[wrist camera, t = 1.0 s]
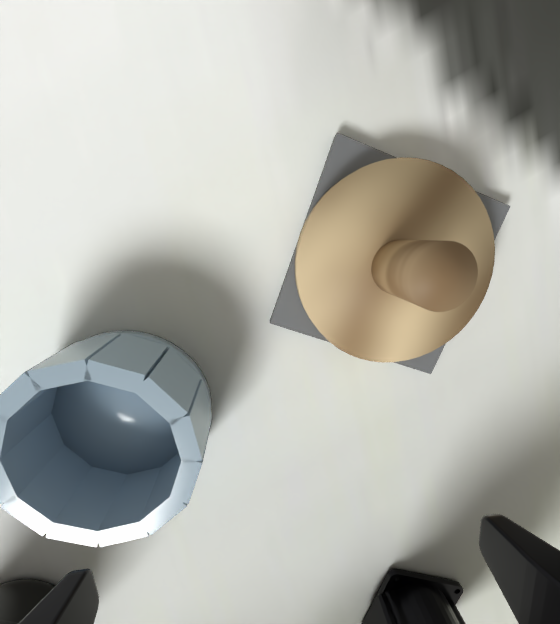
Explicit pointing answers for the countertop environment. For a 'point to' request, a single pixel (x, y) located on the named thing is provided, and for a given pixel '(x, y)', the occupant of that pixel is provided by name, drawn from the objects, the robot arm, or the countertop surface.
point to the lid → (395, 259)
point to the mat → (338, 165)
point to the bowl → (104, 439)
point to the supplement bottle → (20, 598)
